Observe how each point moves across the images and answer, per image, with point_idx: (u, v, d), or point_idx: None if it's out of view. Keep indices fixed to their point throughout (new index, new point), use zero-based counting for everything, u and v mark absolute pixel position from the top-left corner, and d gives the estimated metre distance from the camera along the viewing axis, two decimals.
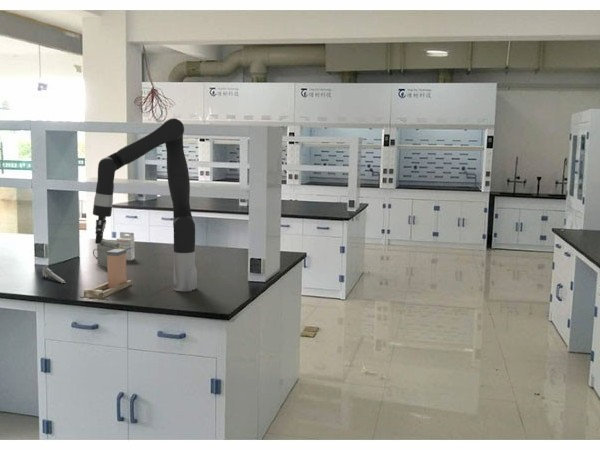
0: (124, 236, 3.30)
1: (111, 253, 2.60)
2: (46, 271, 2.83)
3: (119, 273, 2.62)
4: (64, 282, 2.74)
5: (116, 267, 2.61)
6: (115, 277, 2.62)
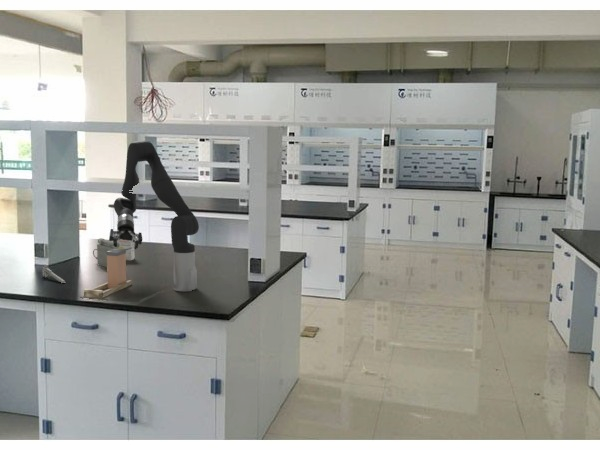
0: None
1: (111, 253, 2.60)
2: (46, 271, 2.83)
3: (119, 273, 2.62)
4: (64, 282, 2.74)
5: (116, 267, 2.61)
6: (115, 277, 2.61)
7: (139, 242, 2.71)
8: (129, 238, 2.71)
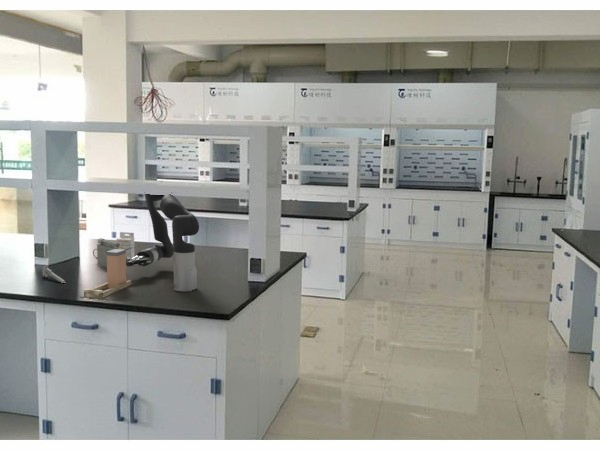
0: (124, 236, 3.30)
1: (111, 253, 2.60)
2: (46, 271, 2.83)
3: (119, 273, 2.62)
4: (64, 282, 2.74)
5: (116, 267, 2.61)
6: (115, 277, 2.61)
7: (137, 262, 2.78)
8: None
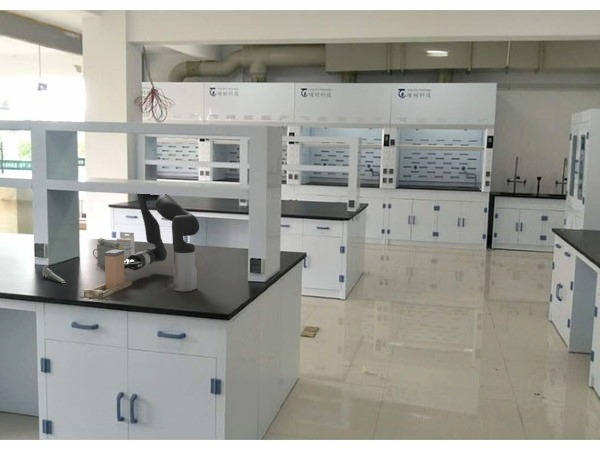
0: (124, 236, 3.30)
1: (109, 254, 2.59)
2: (46, 271, 2.83)
3: (117, 274, 2.61)
4: (64, 282, 2.74)
5: (114, 268, 2.59)
6: (113, 278, 2.60)
7: (128, 266, 2.70)
8: None
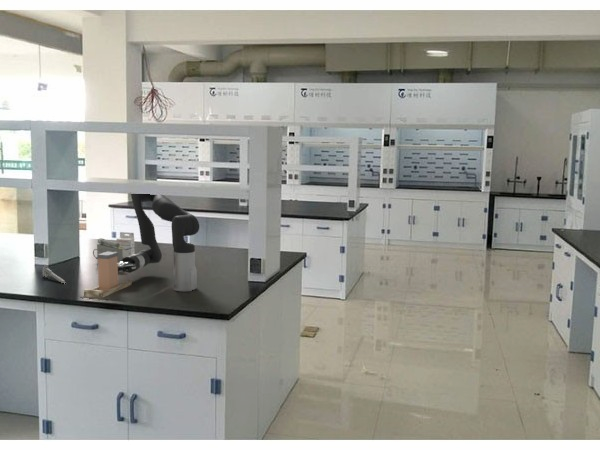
0: (124, 236, 3.30)
1: (102, 256, 2.54)
2: (46, 271, 2.83)
3: (110, 277, 2.56)
4: (64, 282, 2.74)
5: (107, 270, 2.54)
6: (106, 281, 2.55)
7: (122, 268, 2.65)
8: None
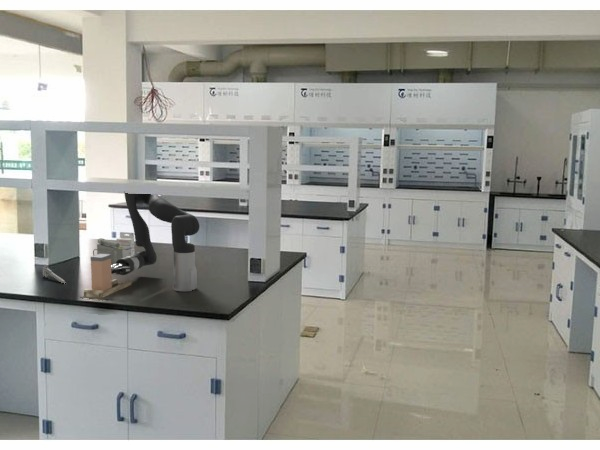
0: (124, 236, 3.30)
1: (95, 258, 2.49)
2: (46, 271, 2.83)
3: (103, 279, 2.51)
4: (64, 282, 2.74)
5: (100, 273, 2.49)
6: (99, 283, 2.50)
7: (115, 271, 2.60)
8: None
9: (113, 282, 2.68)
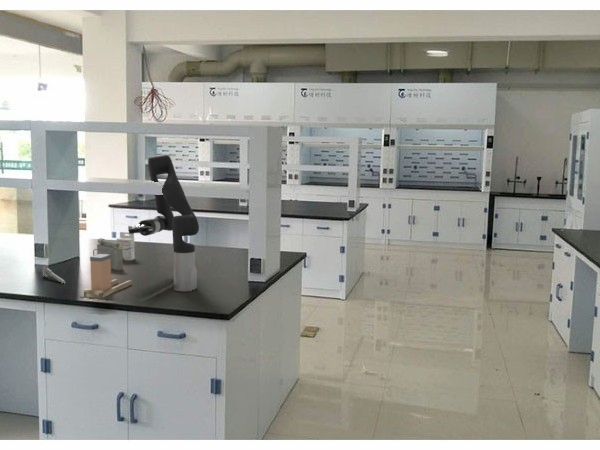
0: (124, 236, 3.30)
1: (94, 258, 2.48)
2: (46, 271, 2.83)
3: (103, 279, 2.50)
4: (64, 282, 2.73)
5: (100, 273, 2.49)
6: (99, 284, 2.50)
7: (139, 230, 2.74)
8: None
9: (113, 282, 2.68)
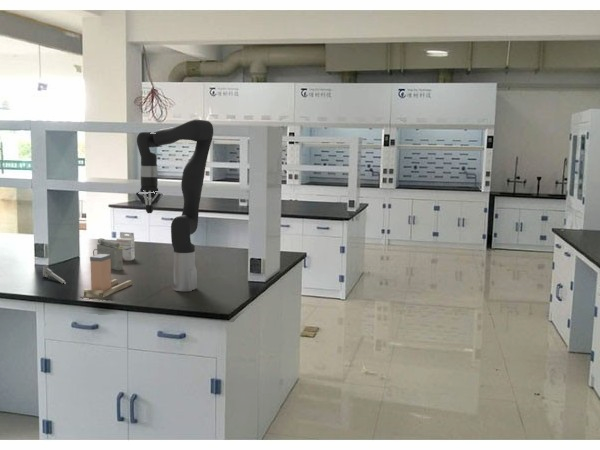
0: (124, 236, 3.30)
1: (94, 258, 2.48)
2: (46, 271, 2.83)
3: (103, 279, 2.50)
4: (64, 282, 2.73)
5: (100, 273, 2.49)
6: (99, 284, 2.50)
7: (153, 204, 2.77)
8: None
9: (113, 282, 2.68)
